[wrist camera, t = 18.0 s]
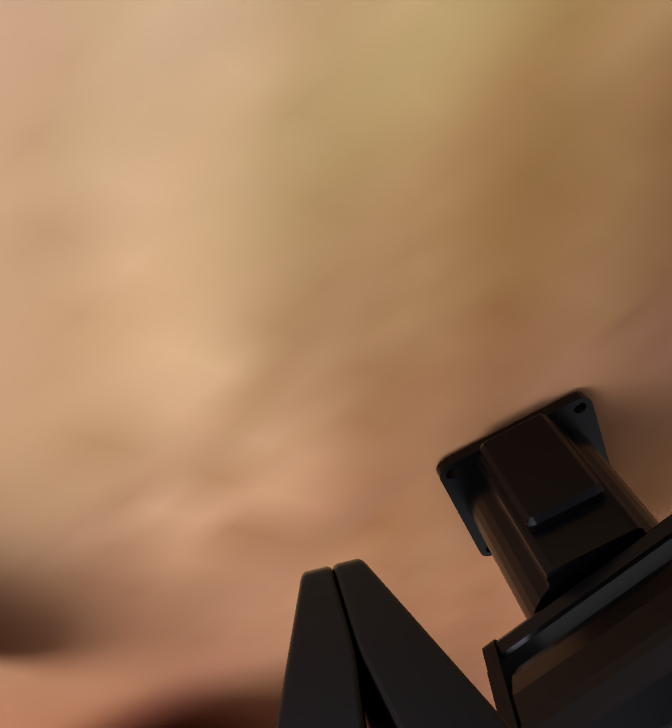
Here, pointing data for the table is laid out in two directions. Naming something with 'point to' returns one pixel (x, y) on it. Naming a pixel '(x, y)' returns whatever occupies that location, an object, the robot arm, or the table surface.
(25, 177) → the table surface
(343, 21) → the table surface
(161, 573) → the table surface
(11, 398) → the table surface
